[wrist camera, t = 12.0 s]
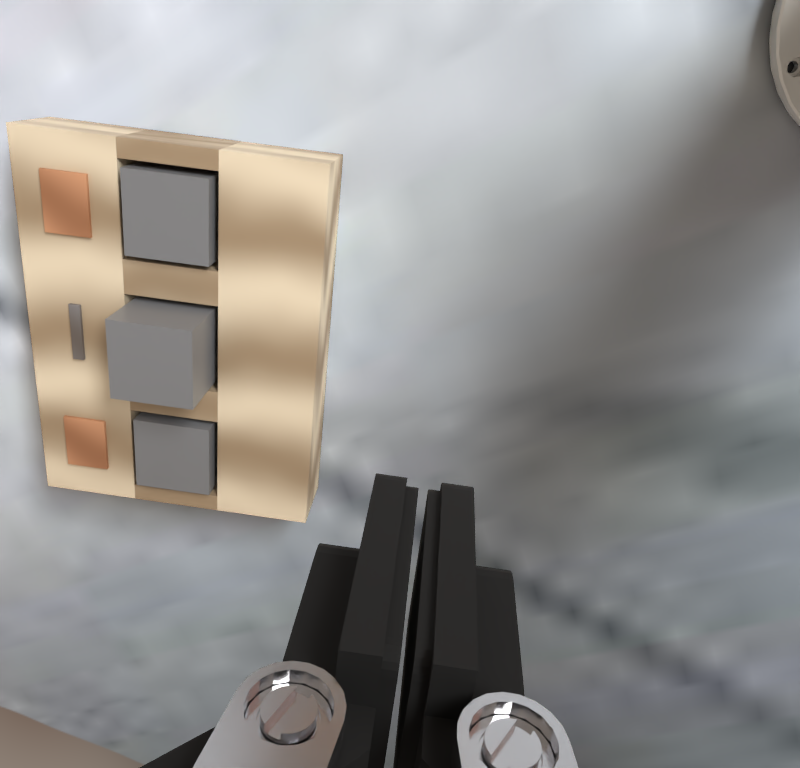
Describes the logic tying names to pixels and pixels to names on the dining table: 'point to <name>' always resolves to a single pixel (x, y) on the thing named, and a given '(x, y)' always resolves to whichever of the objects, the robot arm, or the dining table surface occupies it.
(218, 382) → the switch unit
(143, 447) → the button
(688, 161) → the dining table surface
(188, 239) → the button
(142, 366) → the button
